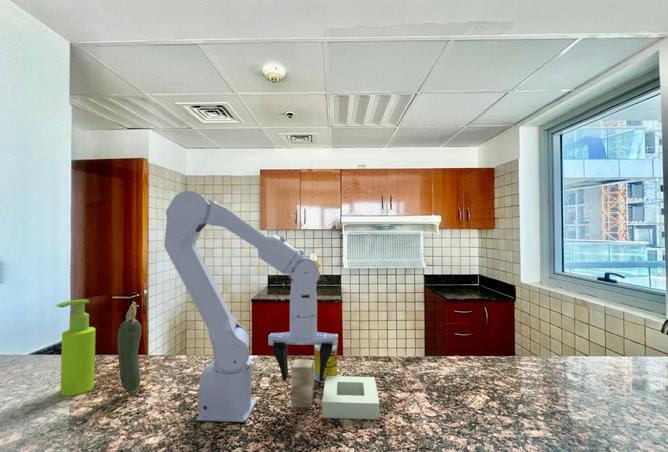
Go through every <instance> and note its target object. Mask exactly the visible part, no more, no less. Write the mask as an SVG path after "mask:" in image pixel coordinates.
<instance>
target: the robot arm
mask: <svg viewBox="0 0 668 452" xmlns="http://www.w3.org/2000/svg"><path fill="white" fill-rule="evenodd" d="M165 216H166V225H165V234H164V244H163V245H164V248H165V251H166V253H167V255H168V256H169V258H170V260H171V262H172V264H173V265H174V269H175V270H176V271H177V273H178V275H179V277H180V279H181V281H182V283H183V285H184V286H185V289H186V290H187V292H188V294H189V296H190V298H191V299H192V302H193V303H194V304H195V305H194V306H195V307H196V309H197V311H198V312H199V314H200V316H201V318H202V320H203V322H204V324H205V326H206V328H207V332H208V336H209V342H210V345H211V347H213V360H214V363H209V364H207V365H206V366H204V368H203V370H202V372H201V374H200V378H199V382H198V415H197V417H196V421H201V422H202V421H204V422H234V423H235V422H236V423H237V422H238V423H244V422H247V420H248V419H249V417H250V415H251V413H252V411H253V409H254V408H255V406H256V404H257V402H258V398H257V397H252V372H253V371H252V370H253V369H252V363H253V361H252V358H251V357H249V356H250V350H249V349H250V342H251V337H250V333H249V331H248V330H247V328H245V327H244V326H243V325H241V324H240V323H239V322H238V319H237V318H236V317H235V316H234V314H232V313H231V311H230V310H229V307H228V306H227V303H226V302H225V299H224V298H223V296H222V294H221V292H220V290H219V288H218V286H217V285H216V282H215V280H214V278H213V277H212V275H211V273H210V271H209V270H208V269H209V268H207V267H208V266H206V264H205V262H204V259H203V258H202V256H201V254H200V252H199V251H198V248H197V246H196V243H197V241H198V239H199V236H200V234H201V232H202V231H203V229H204V228H205V227H207V225H209V226H213V227H214V226H215V227H222V228H224V229H226V230H228V231H229V232H230V233H232V234H234V235H235V236H237V237H239V238H240V239H242V240H244V241H245V242H246V243H248V244H250V245H251V246H253V247H255V249H257V256H258V258H259V259H260V260H261V261H263V262H265V263H266V264H268V265H269V266H271V267H272V268H274V269H275V270H277V271H278V272H280V273H281V274H283V275H288V277H289V278H290V280H291V281H290V293H289V331H285V332H283V331H282V332H271V333H270V334H269V335H268V340H267V342H268V346H272V347H273V348H272V355H273V356H274V357H275V360H276V362H277V364H278V367H279V369H280V373H281V377H282V381H283V382H287V379H288V377H289V365H288V363H289V362H288V355H289V345H297V346H298V345H301V346H304V345H305V346H306V345H307V346H309V345H310V346H311V345H312V346H313V345H314V346H315V345H321V347H320V375H319V382H318V383H321V382H323V378H324V370H325V367H326V364H327V361H328V359H329V357H330V355H331V352H332V347H333V346H337V347H338V344H339V340H338V339H339V334H338V333H327V332H319V331H318V326H317V325H318V292H317V286H318V285H317V282H318V281H319V279H320V276H321V271H320V270H319V267H318V264H317V263H316V261H314V260H312V259H310V258H309V257H308V256H306V255H305V252H304V251H303V250H302V249H300V250H298V249H296V248H295V247H294V246H292V245H291V244H289V243H288V242H286V241H287V239H286V238H285V236H283V235H280V236H278V235H276V234H271V235H265V234H263V233H262V232H261V231H259V230H258V229H256V228H255V227H253V225H251V224H249V223H248V222H247V221H246V220H244V219H243V218H241V217H240V216H239V215H238V214H236V213H235V212H233V211H232V210H230V209H229V208H228V207H226V206H223V205H222V204H220V203H217V202H215V201H213V200H212V199H210V198H206V197H204V196H203V194H201V193H198V192H197V191H194V190H184V191H181V192H179V193H177V194H175V196H174V197H173V199H172V200H171V202H170V204H169V205H168V207H167V208H166V211H165Z"/></svg>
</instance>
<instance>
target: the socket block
mask: <svg viewBox="0 0 668 452" xmlns="http://www.w3.org/2000/svg"><path fill="white" fill-rule="evenodd" d="M377 388H378V387H377V383H376V379H375V377H374V376H349V375H348V376H344V375H342V376H341V375H337V376H326V379H325V383H324V386H323V394H322V400H321V418H325V419H350V420H352V419H354V420H357V419H358V420H380V419H381V417H380V415H381V414H380V411H381V410H380V409H381V407H380V404H381V403H380V400H379V398H380V397H379V394H378V390H377Z"/></svg>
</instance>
